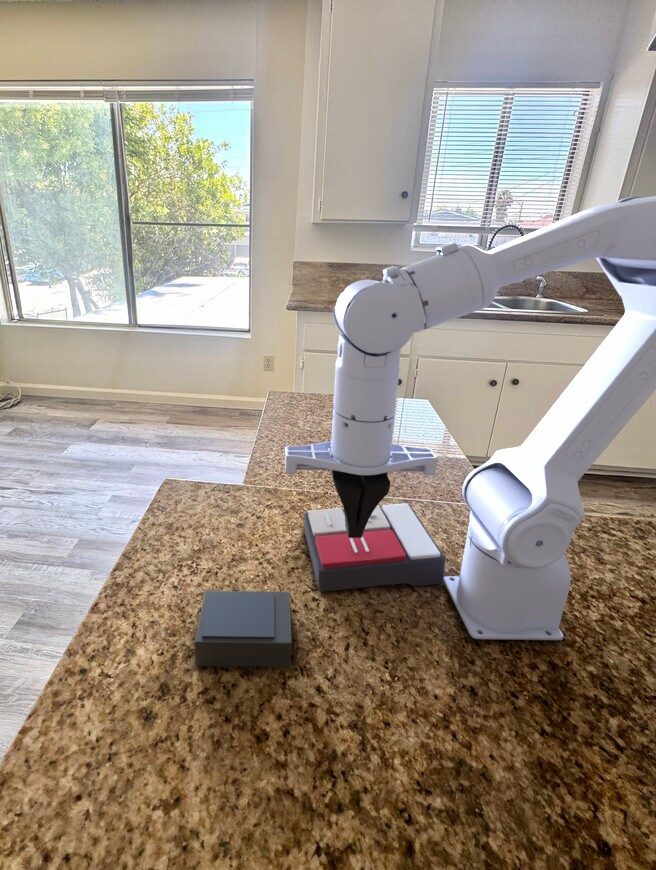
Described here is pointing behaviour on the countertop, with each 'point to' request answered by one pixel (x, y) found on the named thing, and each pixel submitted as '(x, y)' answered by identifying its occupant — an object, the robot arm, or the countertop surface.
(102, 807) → the countertop surface
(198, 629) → the block
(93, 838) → the countertop surface
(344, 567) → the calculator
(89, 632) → the countertop surface
